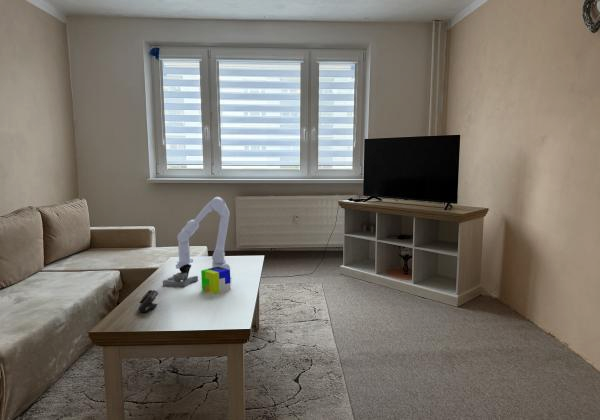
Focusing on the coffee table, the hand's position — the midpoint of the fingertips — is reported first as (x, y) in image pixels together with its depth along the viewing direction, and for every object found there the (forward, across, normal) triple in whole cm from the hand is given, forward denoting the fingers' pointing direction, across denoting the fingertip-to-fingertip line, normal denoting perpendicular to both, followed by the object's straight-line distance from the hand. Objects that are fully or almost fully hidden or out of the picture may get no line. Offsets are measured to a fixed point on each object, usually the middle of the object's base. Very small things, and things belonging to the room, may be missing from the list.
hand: (185, 278), depth 224 cm
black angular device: (+1, +44, +7) cm, 44 cm away
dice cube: (+1, +6, +1) cm, 6 cm away
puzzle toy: (+1, +12, +24) cm, 27 cm away
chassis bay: (+1, +6, 0) cm, 6 cm away
